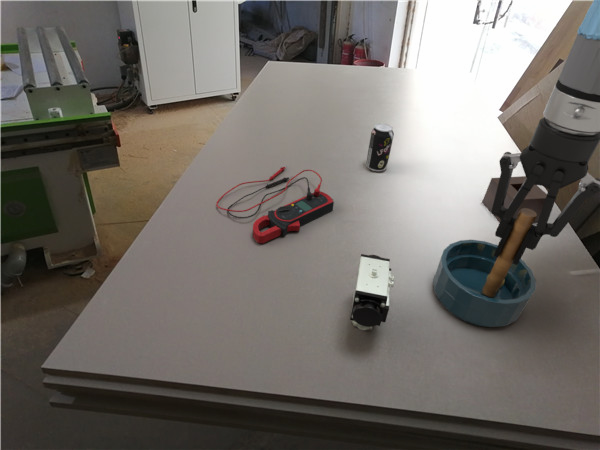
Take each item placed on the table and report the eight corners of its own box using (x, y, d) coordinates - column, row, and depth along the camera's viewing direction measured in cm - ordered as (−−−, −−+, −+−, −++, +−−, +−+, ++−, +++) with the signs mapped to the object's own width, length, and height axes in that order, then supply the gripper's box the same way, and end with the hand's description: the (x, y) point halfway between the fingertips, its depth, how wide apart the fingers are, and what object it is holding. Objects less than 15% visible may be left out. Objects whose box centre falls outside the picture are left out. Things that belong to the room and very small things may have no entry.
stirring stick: (491, 286, 74) (530, 207, 63) (498, 296, 72) (540, 216, 61) (479, 288, 74) (516, 208, 63) (486, 297, 72) (526, 217, 61)
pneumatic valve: (345, 345, 65) (355, 295, 57) (353, 292, 74) (363, 243, 66) (379, 353, 64) (394, 302, 57) (383, 298, 73) (396, 249, 66)
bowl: (490, 263, 82) (503, 237, 78) (538, 325, 70) (556, 298, 66) (418, 269, 80) (427, 242, 75) (455, 335, 68) (468, 307, 63)
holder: (515, 200, 101) (526, 176, 97) (538, 222, 94) (551, 197, 90) (481, 202, 100) (491, 177, 95) (502, 225, 92) (513, 200, 88)
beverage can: (390, 166, 111) (398, 126, 104) (381, 175, 107) (389, 133, 100) (371, 160, 113) (378, 120, 106) (361, 168, 110) (368, 127, 102)
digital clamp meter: (351, 192, 92) (262, 234, 79) (349, 208, 95) (262, 251, 82) (287, 151, 106) (202, 181, 92) (287, 166, 108) (204, 197, 95)
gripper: (504, 116, 54) (454, 248, 68) (640, 152, 47) (553, 290, 62) (517, 101, 59) (468, 227, 73) (641, 131, 52) (560, 263, 67)
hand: (507, 255), depth 68 cm, fingers closed on stirring stick, 2 cm apart
